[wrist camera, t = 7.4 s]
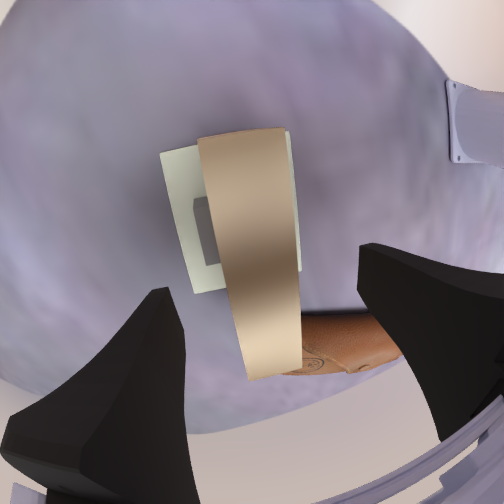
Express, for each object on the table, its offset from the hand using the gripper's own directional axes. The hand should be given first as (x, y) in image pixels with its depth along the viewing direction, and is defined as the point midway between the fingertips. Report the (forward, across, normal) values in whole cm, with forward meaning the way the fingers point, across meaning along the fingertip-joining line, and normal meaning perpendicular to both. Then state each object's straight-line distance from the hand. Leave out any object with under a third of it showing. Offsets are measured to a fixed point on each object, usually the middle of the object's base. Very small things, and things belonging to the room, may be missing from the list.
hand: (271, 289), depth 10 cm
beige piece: (+6, 0, +1) cm, 6 cm away
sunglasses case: (+10, -10, +15) cm, 21 cm away
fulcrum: (+9, 0, 0) cm, 9 cm away
